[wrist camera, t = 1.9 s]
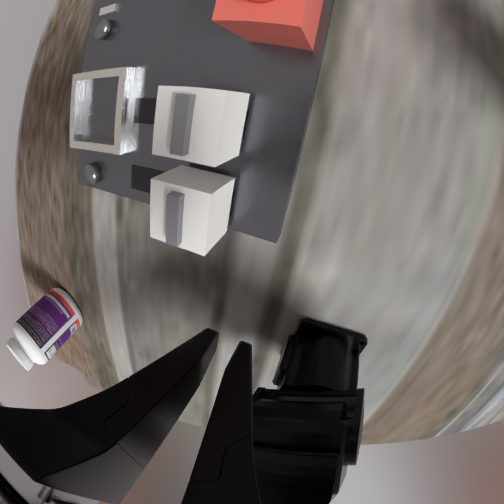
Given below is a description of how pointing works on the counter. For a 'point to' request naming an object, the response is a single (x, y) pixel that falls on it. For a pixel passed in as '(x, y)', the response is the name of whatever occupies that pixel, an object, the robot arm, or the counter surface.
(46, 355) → the pill bottle
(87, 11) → the counter surface
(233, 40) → the panel
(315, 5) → the red block with knob
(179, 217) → the breaker
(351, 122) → the counter surface
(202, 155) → the block
